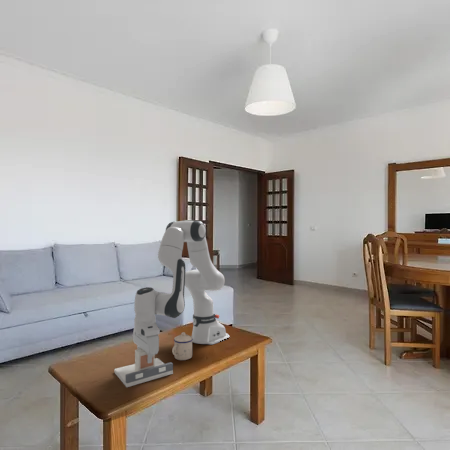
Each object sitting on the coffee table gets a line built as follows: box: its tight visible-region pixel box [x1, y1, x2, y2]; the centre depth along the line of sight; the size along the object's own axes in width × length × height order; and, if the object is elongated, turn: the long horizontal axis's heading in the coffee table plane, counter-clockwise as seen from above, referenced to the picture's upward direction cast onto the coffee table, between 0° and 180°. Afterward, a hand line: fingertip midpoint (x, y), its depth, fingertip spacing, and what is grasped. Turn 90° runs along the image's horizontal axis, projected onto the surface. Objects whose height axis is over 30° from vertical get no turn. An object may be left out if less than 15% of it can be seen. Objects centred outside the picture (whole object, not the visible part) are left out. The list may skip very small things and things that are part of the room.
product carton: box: [134, 348, 156, 372], centre depth 135 cm, size 7×5×9 cm
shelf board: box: [114, 357, 174, 388], centre depth 136 cm, size 20×16×4 cm
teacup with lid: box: [171, 331, 193, 361], centre depth 153 cm, size 12×9×12 cm
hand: (144, 358), depth 135 cm, fingers open, 8 cm apart
